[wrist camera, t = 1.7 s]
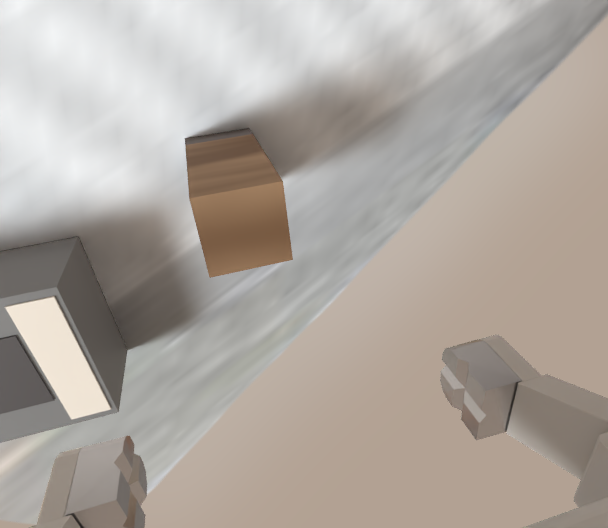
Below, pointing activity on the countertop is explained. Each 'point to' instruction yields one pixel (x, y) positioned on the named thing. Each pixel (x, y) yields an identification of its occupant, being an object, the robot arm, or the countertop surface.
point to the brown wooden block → (236, 202)
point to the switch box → (55, 341)
